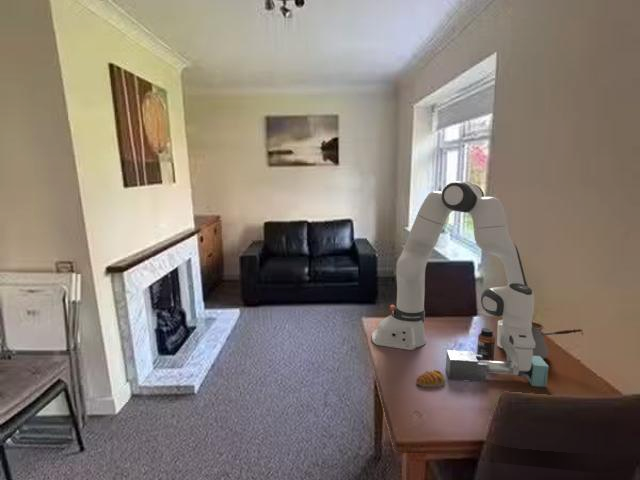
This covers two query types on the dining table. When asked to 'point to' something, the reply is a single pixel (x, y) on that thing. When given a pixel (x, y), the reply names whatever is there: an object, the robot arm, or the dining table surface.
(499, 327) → the white cup
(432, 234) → the robot arm
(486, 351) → the supplement bottle
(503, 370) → the tube
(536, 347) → the coffee pot
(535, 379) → the socket
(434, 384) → the pastry
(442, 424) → the dining table surface
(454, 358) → the sleeve
